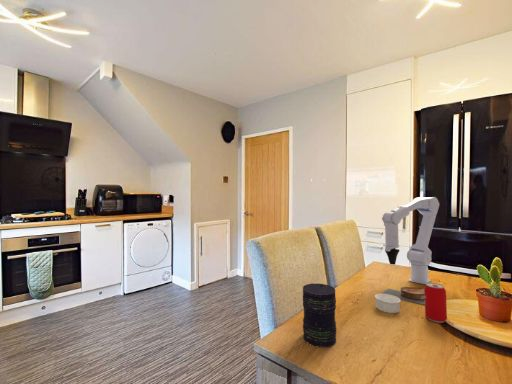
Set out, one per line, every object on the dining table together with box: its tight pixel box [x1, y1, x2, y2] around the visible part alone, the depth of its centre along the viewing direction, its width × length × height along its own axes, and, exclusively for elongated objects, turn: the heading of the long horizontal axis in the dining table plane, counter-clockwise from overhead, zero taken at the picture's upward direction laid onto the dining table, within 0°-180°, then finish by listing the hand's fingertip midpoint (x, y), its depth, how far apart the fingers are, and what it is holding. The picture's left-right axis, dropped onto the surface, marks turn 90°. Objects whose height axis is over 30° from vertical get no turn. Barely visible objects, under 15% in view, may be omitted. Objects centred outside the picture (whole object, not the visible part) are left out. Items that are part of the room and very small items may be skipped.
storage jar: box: [302, 283, 337, 349], centre depth 77 cm, size 10×10×15 cm
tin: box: [400, 286, 425, 300], centre depth 109 cm, size 15×3×8 cm
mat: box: [380, 288, 425, 306], centre depth 109 cm, size 10×20×1 cm, turn 46°
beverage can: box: [423, 282, 448, 324], centre depth 88 cm, size 6×6×12 cm
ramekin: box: [374, 293, 402, 314], centre depth 97 cm, size 9×9×4 cm
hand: (392, 264), depth 125 cm, fingers closed
